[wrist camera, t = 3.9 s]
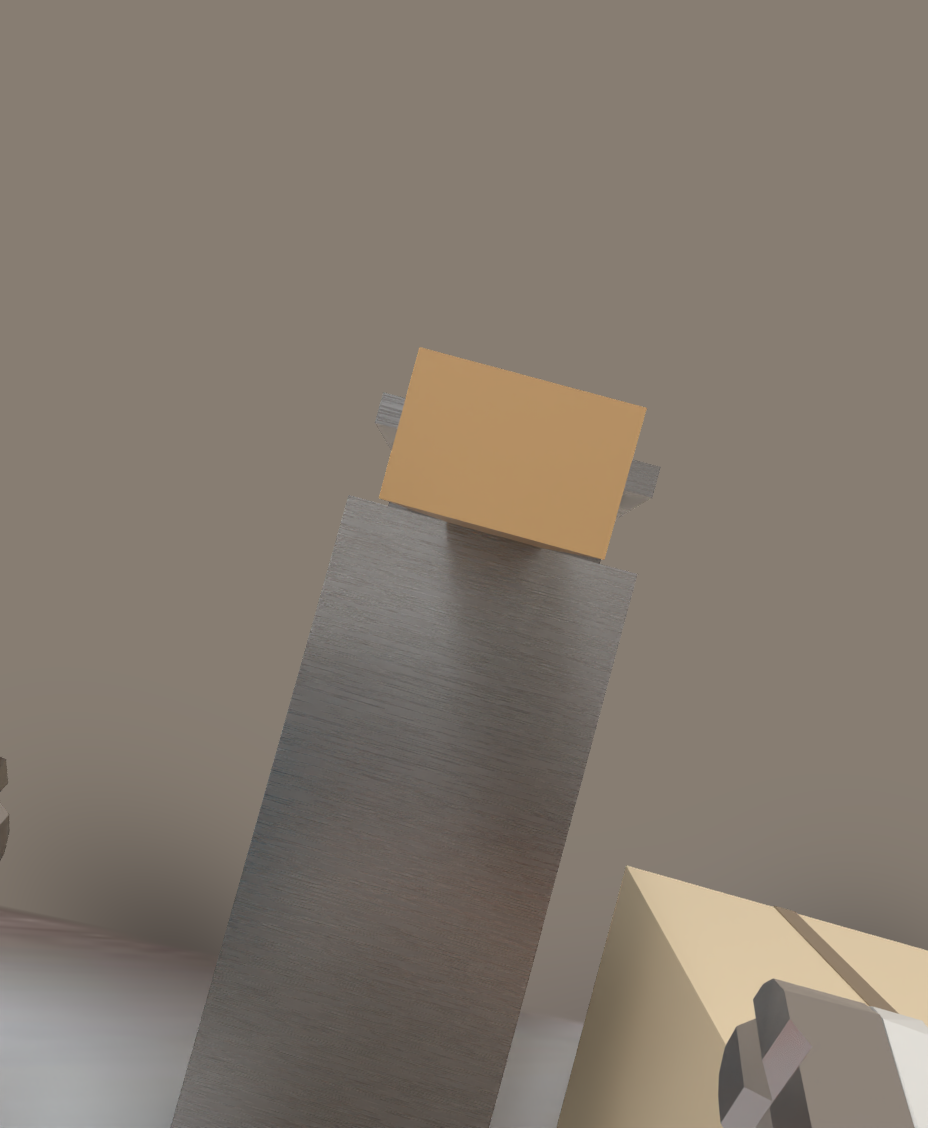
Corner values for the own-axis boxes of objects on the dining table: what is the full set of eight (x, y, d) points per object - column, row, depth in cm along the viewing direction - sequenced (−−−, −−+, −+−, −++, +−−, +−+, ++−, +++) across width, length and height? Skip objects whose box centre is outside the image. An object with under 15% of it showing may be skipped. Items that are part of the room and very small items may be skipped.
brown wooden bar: (603, 560, 11) (646, 408, 11) (378, 498, 11) (419, 346, 11) (532, 546, 33) (546, 495, 33) (456, 525, 33) (470, 474, 33)
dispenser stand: (453, 1492, 24) (725, 470, 25) (41, 1366, 24) (326, 362, 25) (462, 1164, 38) (637, 516, 39) (200, 1087, 38) (380, 446, 39)
